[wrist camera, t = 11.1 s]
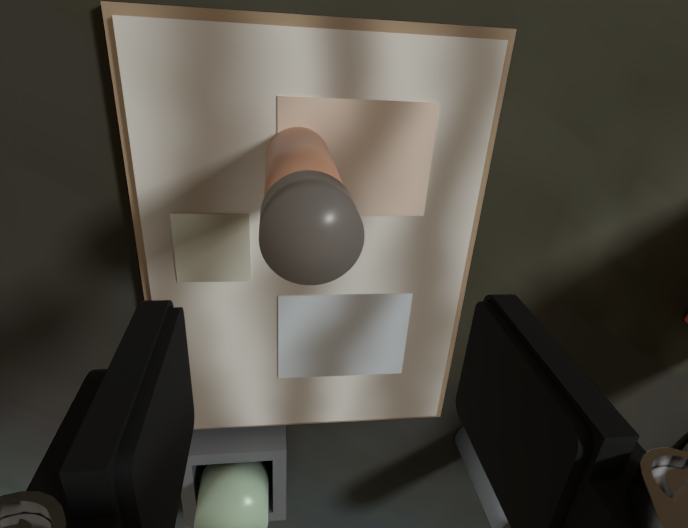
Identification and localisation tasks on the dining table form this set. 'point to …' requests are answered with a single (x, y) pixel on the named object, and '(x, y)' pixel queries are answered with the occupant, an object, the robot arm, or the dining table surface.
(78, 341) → the dining table surface
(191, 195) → the worksheet
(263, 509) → the button
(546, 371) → the robot arm
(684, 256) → the dining table surface
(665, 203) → the dining table surface
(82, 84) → the dining table surface
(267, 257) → the marker terracotta
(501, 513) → the slate
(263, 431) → the button housing
